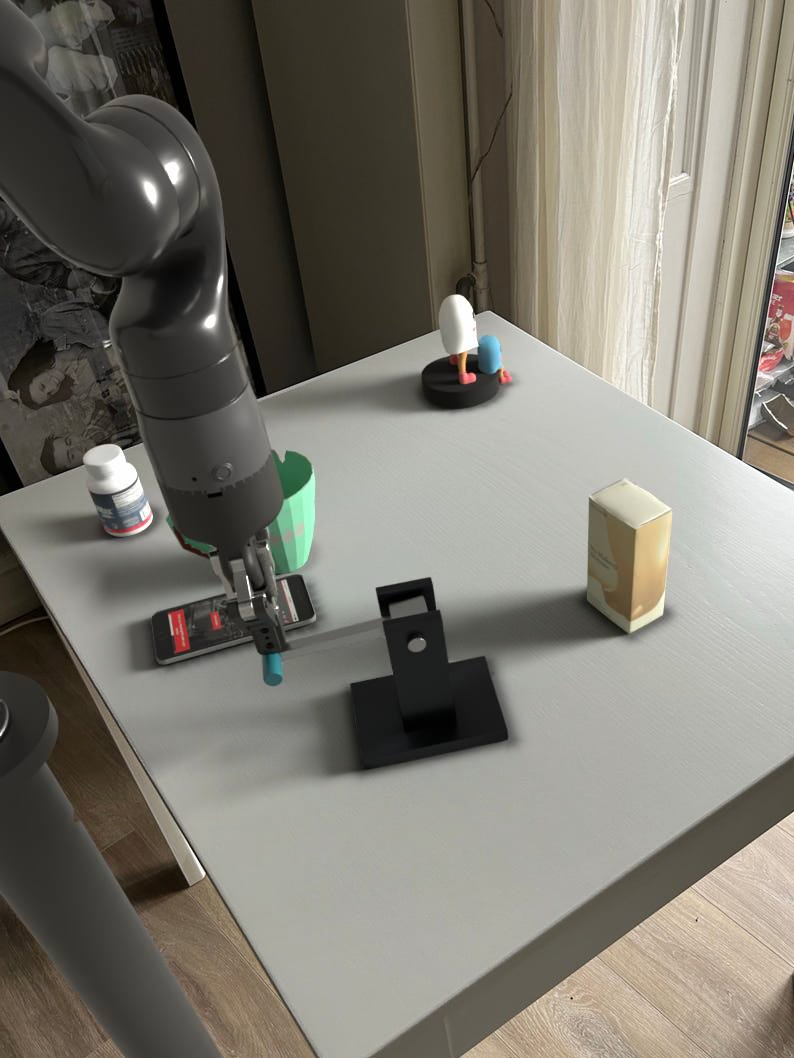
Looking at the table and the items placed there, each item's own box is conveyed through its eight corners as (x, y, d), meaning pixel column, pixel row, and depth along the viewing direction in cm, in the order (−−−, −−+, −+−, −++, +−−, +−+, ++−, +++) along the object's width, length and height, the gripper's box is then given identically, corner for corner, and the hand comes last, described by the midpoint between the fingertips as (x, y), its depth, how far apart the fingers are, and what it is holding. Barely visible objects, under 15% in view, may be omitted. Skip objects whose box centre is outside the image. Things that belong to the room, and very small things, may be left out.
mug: (319, 519, 105) (300, 438, 98) (343, 572, 98) (324, 489, 91) (183, 558, 102) (153, 478, 95) (198, 616, 95) (167, 533, 88)
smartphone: (149, 613, 95) (301, 572, 98) (151, 618, 95) (303, 577, 98) (156, 662, 90) (316, 617, 92) (158, 668, 90) (318, 623, 93)
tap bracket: (364, 770, 80) (335, 658, 71) (352, 692, 86) (324, 580, 77) (508, 739, 81) (497, 625, 72) (485, 664, 87) (473, 551, 78)
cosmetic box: (585, 601, 92) (584, 493, 84) (620, 581, 94) (622, 474, 85) (631, 637, 88) (634, 528, 80) (667, 616, 90) (674, 507, 81)
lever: (268, 693, 74) (258, 671, 72) (265, 644, 78) (256, 622, 76) (437, 649, 75) (431, 627, 73) (425, 603, 79) (419, 581, 77)
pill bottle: (96, 524, 108) (67, 455, 102) (139, 503, 110) (112, 434, 104) (119, 544, 105) (89, 474, 99) (162, 522, 107) (136, 452, 101)
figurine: (520, 397, 120) (514, 303, 112) (431, 415, 119) (419, 321, 111) (501, 362, 127) (494, 271, 119) (417, 378, 126) (404, 287, 117)
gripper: (155, 412, 67) (222, 602, 79) (148, 523, 58) (225, 720, 70) (264, 393, 68) (314, 583, 80) (275, 499, 59) (329, 698, 70)
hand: (272, 647), depth 75 cm, fingers closed
